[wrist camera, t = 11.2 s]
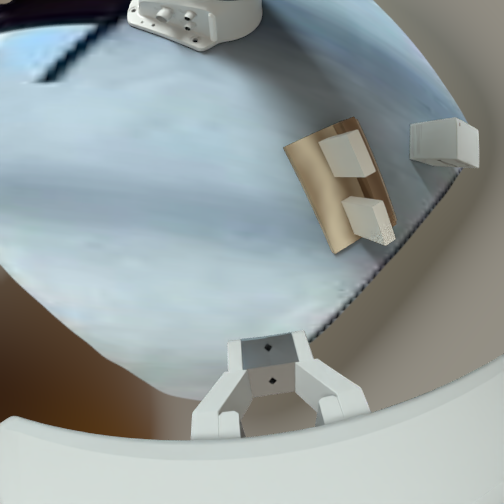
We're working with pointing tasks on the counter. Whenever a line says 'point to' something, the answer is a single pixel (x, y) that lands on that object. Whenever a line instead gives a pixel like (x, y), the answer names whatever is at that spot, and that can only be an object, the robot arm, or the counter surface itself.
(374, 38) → the counter surface
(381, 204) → the white rectangular block
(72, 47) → the counter surface
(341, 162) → the block
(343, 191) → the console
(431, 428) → the robot arm
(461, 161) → the supplement box
